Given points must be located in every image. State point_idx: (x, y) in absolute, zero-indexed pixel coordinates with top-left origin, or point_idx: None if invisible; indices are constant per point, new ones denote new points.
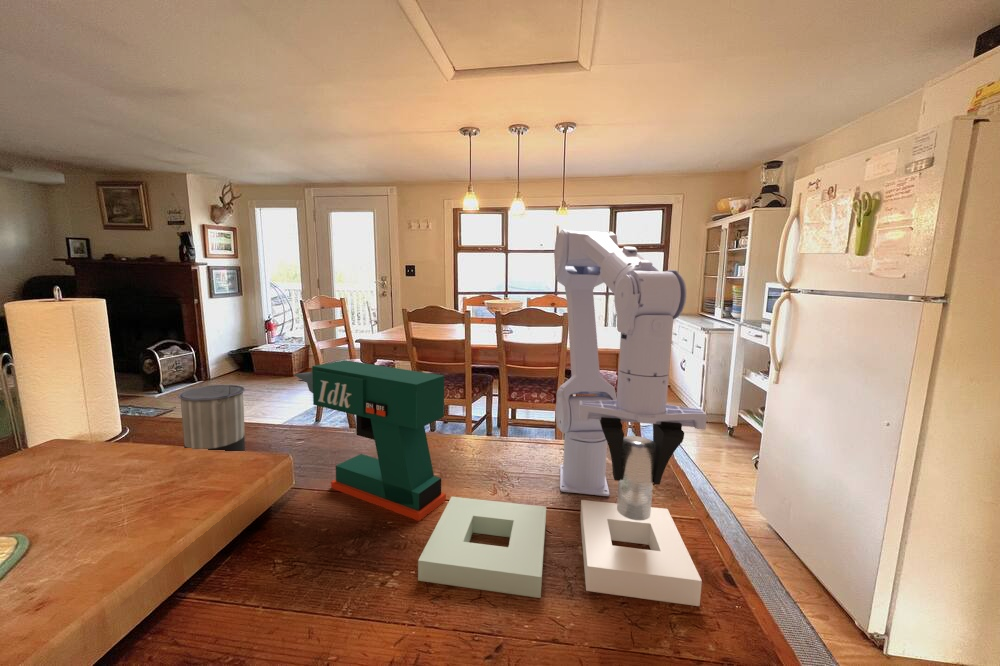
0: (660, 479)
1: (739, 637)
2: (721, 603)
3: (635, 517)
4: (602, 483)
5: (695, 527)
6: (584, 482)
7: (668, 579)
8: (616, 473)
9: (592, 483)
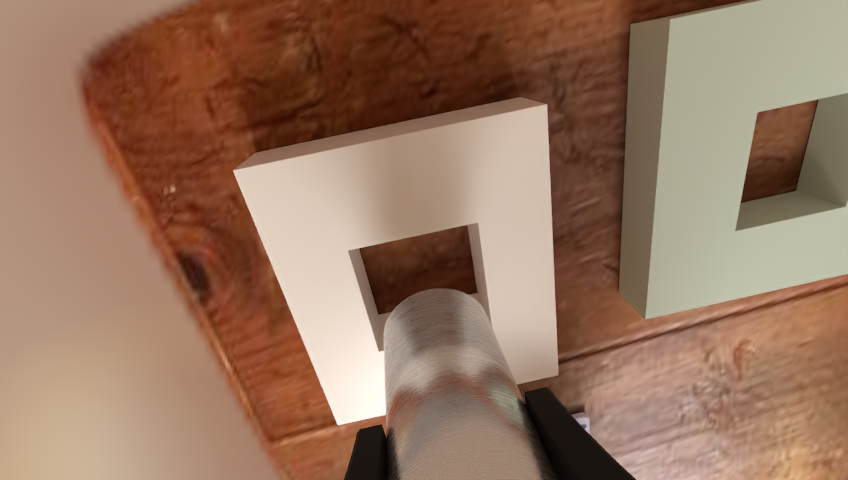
0: (354, 450)
1: (159, 84)
2: (206, 184)
3: (431, 294)
4: None
5: (277, 412)
6: None
7: (323, 149)
8: (559, 411)
9: None
